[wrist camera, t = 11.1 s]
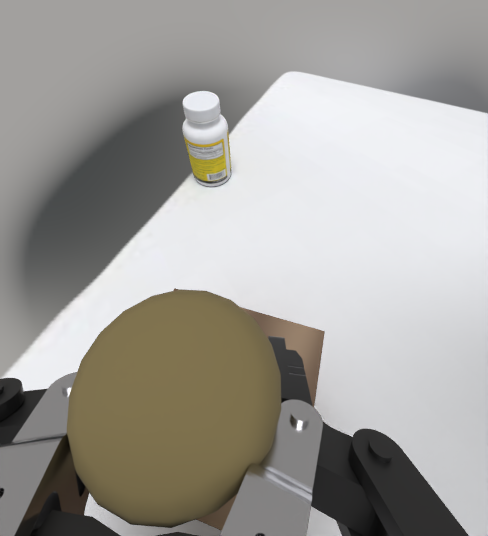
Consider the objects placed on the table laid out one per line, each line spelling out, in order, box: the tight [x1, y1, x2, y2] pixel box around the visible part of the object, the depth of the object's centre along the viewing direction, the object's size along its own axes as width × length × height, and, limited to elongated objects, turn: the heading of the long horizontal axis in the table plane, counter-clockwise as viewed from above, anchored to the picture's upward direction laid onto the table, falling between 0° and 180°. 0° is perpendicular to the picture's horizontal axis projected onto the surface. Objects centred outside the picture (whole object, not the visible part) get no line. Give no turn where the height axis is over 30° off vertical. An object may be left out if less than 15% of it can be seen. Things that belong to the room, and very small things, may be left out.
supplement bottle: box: [183, 91, 231, 186], centre depth 30 cm, size 5×5×10 cm
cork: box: [67, 290, 281, 528], centre depth 10 cm, size 6×6×11 cm
